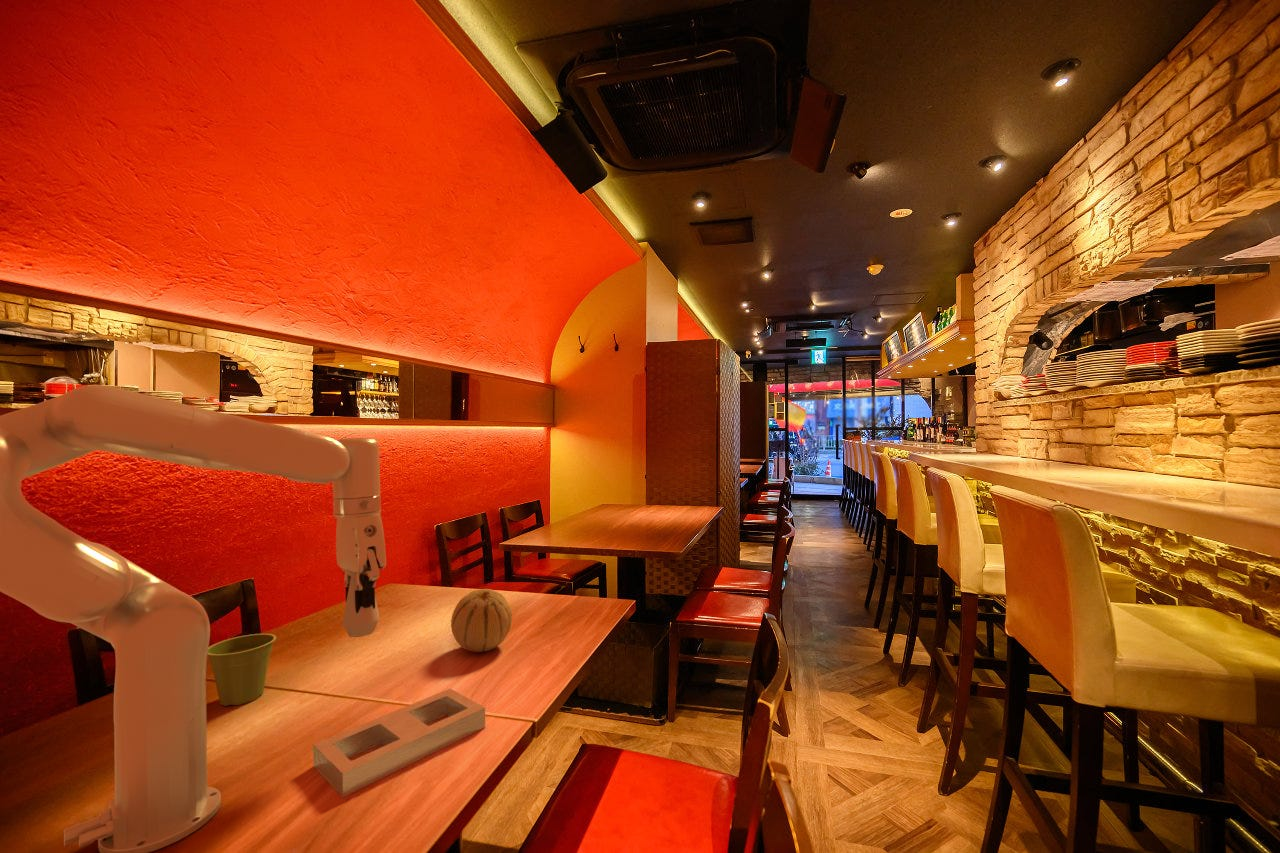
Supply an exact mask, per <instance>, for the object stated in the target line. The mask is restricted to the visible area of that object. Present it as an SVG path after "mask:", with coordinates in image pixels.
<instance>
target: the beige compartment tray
mask: <svg viewBox="0 0 1280 853" xmlns="http://www.w3.org/2000/svg"><path fill="white" fill-rule="evenodd" d="M445 714H448V715H447V716H448V717H446V718H443V719H441V720H439V721H437V722H435V723H433V724H430V725H427V724H429V723H431V722H433V721H435V720H437V718H438V719H439V717H440V718H442V717H444V716H446V715H445ZM443 715H444V716H443ZM449 715H450V716H449ZM441 716H442V717H441ZM484 728H486V707H485V706H483V705H481V704H480V703H478V702H475V701H474V700H472V699H470V698H468V697H467V696H464V695H463V694H462V693H459V692H457V691H456V690H454V689H452V688H448V689H446V690H443V691H440V692H438V693H436V694H434V695H430V696H428V697H426V698H423V699H421V700H418V701H415V702H413V703H411V704H408V705H407V706H403V707H401V708H400V709H395V710H394V711H392V712H389V713H386V714H384V715H382V716H379V717H377V718H374V719H372V720H370V721H367V722H365V723H361V724H360V725H357V726H355V727H353V728H349V729H347V730H345V731H343V732H340V733H337V734H334V735H333V736H331V737H328V738H325V739H322V740H320V741H318V742H316V743H315V742H314V744H313V747H312V748H313V767H314V768H315V769H316V770H317V772H318V773H319V774H320V775H322V777H323V778H324V779H325V780H326V781H327V782H328V783H329V784H330V785H331V786H332V787H333V789H334V790H335V791H336V792H337V793H338V794H339V795H340V796H341V797H342V798H345V797H348V795H351V794H352V793H354V792H357V791H359V790H361V789H363V788H364V787H367V786H369V785H371V784H373V783H375V782H377V781H379V780H381V779H383V778H385V777H387V776H389V775H391V774H393V773H395V772H397V771H400V770H402V769H404V768H405V767H408V766H410V765H411V764H413V763H416V762H417V761H419V760H422V759H423V758H425V757H427V756H430V755H431V754H434V753H436V752H438V751H440V750H441V749H444V748H446V747H448V746H450V745H452V744H454V743H456V742H459V741H460V740H462V739H464V738H467V737H468V736H471V735H472V734H474V733H476V732H479V731H480V730H482V729H484ZM379 745H381V747H379V748H377V749H375V750H372V751H370V752H369V753H366V754H364V755H361V756H359V757H357V758H355V759H352V760H351V759H350V758H352V757H354V756H356V755H359V754H361V753H363V752H365V751H368V750H370V749H373V748H375V747H377V746H379Z"/></svg>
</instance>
